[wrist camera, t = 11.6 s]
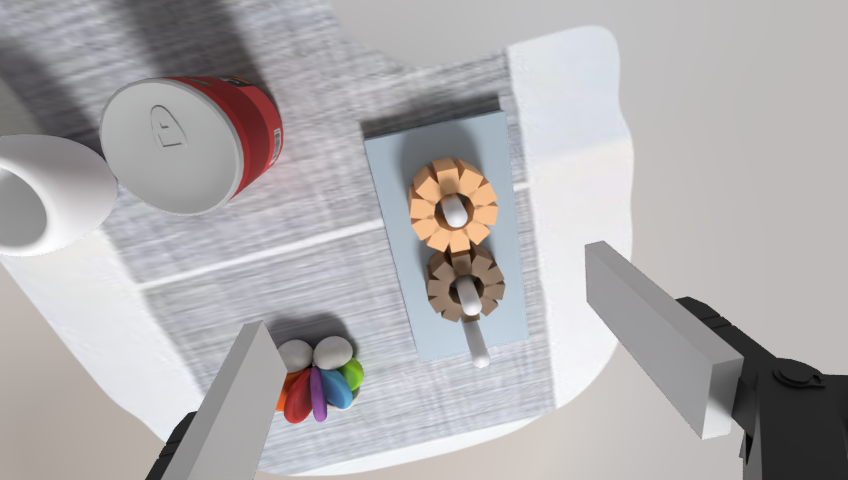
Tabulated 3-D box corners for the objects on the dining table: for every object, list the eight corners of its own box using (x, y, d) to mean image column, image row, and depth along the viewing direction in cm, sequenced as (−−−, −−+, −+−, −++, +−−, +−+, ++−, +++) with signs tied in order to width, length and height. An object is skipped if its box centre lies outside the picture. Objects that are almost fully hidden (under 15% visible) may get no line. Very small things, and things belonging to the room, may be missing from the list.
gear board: (364, 138, 34) (358, 155, 27) (500, 109, 33) (528, 119, 27) (419, 353, 43) (424, 406, 36) (524, 331, 43) (549, 380, 36)
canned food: (251, 59, 30) (182, 52, 20) (304, 152, 34) (267, 186, 24) (168, 101, 31) (62, 114, 21) (228, 188, 34) (160, 236, 24)
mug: (68, 104, 31) (-30, 114, 24) (156, 188, 34) (93, 219, 27) (-25, 191, 33) (-142, 224, 26) (66, 262, 36) (-15, 310, 29)
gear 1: (400, 167, 33) (401, 179, 30) (481, 150, 33) (492, 160, 30) (416, 240, 36) (419, 259, 32) (491, 224, 36) (502, 242, 32)
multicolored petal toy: (268, 335, 41) (244, 386, 34) (360, 327, 41) (354, 376, 35) (284, 395, 44) (265, 452, 38) (369, 387, 45) (365, 442, 38)
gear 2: (417, 250, 36) (420, 264, 34) (492, 234, 36) (501, 247, 34) (431, 311, 39) (434, 329, 36) (501, 296, 39) (509, 313, 36)
